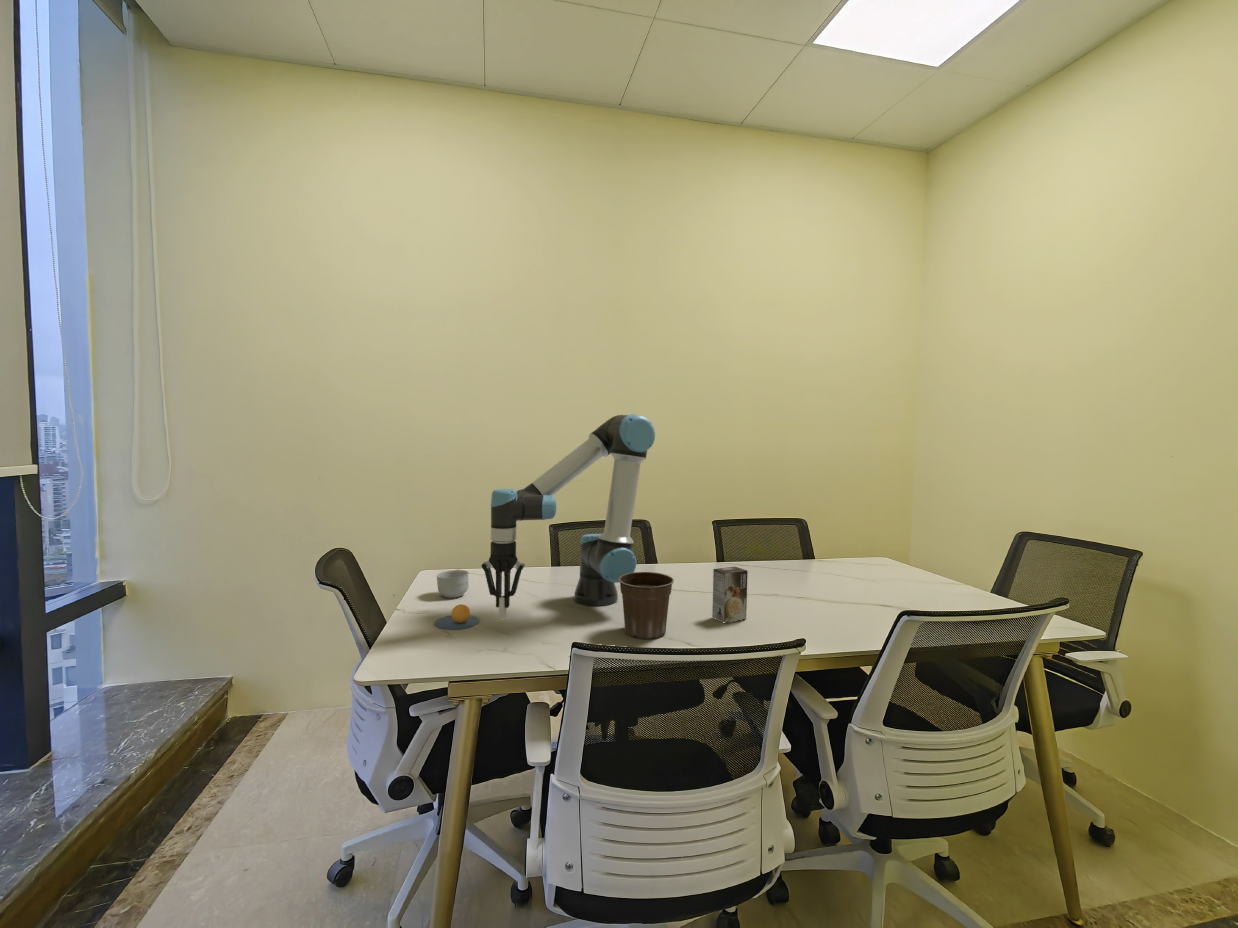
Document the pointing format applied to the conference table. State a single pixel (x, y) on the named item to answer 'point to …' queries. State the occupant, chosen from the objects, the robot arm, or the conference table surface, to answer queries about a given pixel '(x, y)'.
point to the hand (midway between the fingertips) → (502, 617)
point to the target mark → (455, 623)
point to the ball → (460, 613)
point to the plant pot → (645, 603)
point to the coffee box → (729, 594)
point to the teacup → (453, 583)
